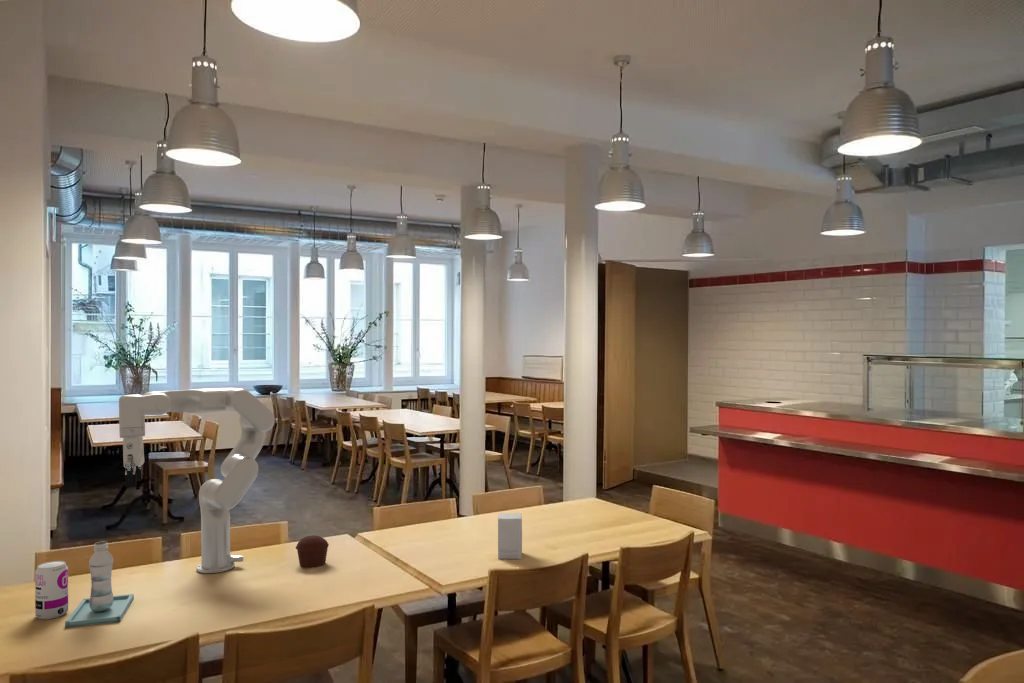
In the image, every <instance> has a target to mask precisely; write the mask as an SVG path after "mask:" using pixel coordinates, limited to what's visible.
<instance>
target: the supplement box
mask: <svg viewBox="0 0 1024 683" xmlns="http://www.w3.org/2000/svg"><path fill="white" fill-rule="evenodd" d="M522 516H523V515H522V513H520V512H519V513H506V512H505V513H502V512H501V513H498V518H497V559H498V560H499V559H501V560H506V559H509V560H510V559H511V560H514V559H515V560H521V559H522V558H523V557H522V556H523V555H522V554H523V519H522V518H523V517H522Z"/></svg>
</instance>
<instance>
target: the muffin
mask: <svg viewBox="0 0 1024 683" xmlns="http://www.w3.org/2000/svg"><path fill="white" fill-rule="evenodd" d="M329 546H330V544H329V543H328V541H327V540H326V539H325V538H324V537H322V536H320V535H307V536H304V537H303V538H301V539H300V540H299V541H298V542H297V544H296V546H295V549H296V550H297V555H298V556H297V558H298V562H299V563H298V564H299V566H300V567H301V568H306V569H312V568H313V569H314V568H315V569H316V568H319V567H323V566H324V565H325V564H326V562H327V554H328V548H329Z"/></svg>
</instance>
